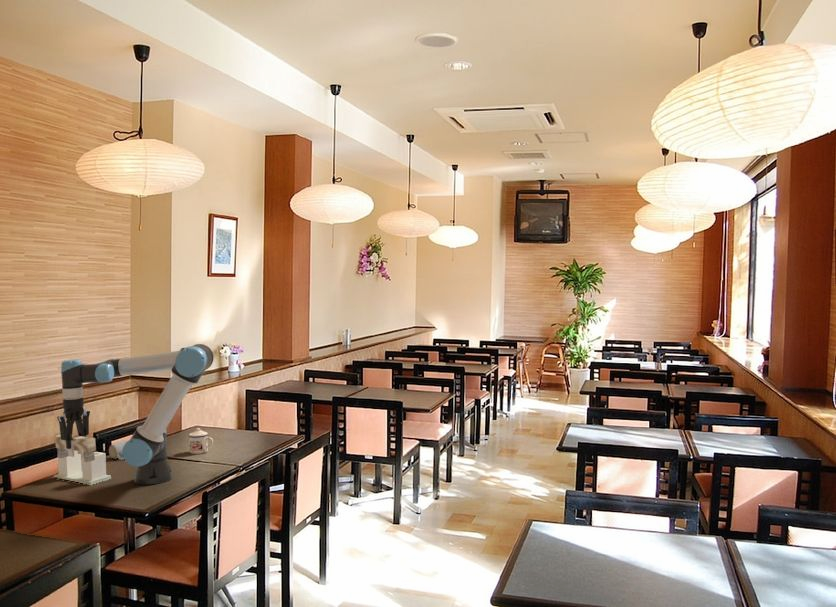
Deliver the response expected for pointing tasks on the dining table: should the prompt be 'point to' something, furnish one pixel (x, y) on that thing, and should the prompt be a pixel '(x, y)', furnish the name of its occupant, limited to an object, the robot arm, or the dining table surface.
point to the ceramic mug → (117, 450)
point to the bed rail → (77, 447)
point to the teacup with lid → (199, 442)
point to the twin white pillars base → (83, 469)
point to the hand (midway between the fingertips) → (76, 454)
